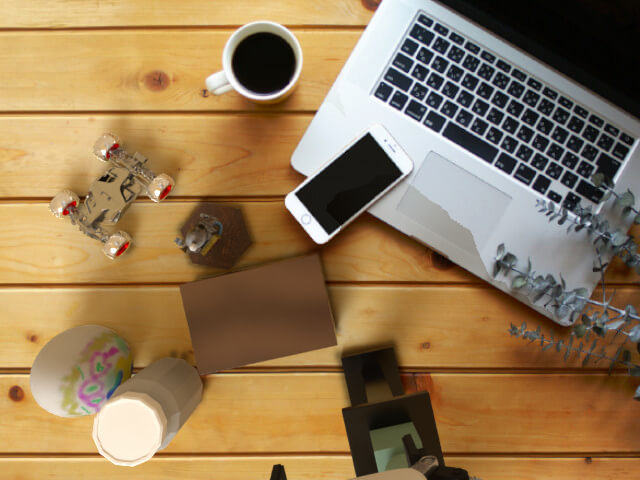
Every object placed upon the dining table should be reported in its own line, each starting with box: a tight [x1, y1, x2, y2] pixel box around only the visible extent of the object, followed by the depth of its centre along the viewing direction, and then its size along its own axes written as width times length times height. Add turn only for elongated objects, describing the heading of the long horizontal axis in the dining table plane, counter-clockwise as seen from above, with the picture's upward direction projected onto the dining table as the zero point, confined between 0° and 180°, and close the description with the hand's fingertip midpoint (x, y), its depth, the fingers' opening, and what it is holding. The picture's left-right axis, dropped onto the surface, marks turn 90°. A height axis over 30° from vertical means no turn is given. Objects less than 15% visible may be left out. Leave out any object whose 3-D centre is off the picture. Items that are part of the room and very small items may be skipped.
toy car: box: [48, 131, 176, 260], centre depth 76 cm, size 15×12×5 cm
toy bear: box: [370, 422, 423, 472], centre depth 48 cm, size 4×4×9 cm
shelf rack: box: [178, 251, 339, 377], centre depth 73 cm, size 12×18×11 cm, turn 103°
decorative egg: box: [29, 324, 134, 419], centre depth 71 cm, size 12×12×15 cm
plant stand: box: [340, 344, 446, 478], centre depth 65 cm, size 9×9×26 cm
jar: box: [91, 356, 204, 468], centre depth 70 cm, size 10×10×18 cm
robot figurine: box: [173, 201, 253, 271], centre depth 72 cm, size 11×9×12 cm
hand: (346, 468), depth 38 cm, fingers open, 9 cm apart
